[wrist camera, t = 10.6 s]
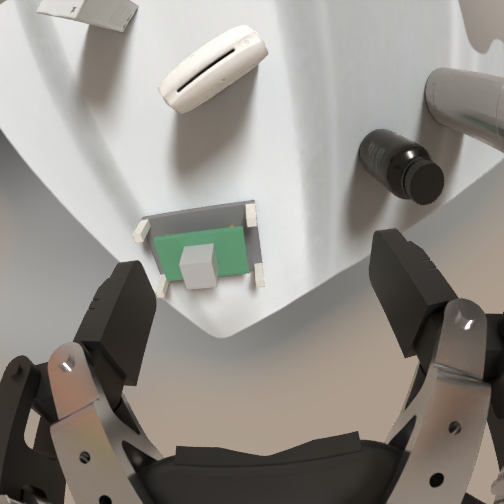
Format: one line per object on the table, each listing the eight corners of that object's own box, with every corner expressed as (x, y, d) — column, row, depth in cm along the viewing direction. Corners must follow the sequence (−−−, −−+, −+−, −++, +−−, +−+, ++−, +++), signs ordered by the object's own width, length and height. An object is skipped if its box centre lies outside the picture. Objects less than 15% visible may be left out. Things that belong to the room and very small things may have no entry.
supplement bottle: (406, 137, 33) (459, 166, 23) (391, 180, 37) (436, 220, 27) (366, 121, 32) (415, 144, 22) (351, 167, 36) (391, 206, 26)
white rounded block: (244, 35, 26) (246, 11, 15) (265, 61, 28) (280, 51, 17) (174, 85, 29) (141, 89, 18) (195, 110, 31) (173, 126, 21)
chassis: (254, 200, 38) (256, 217, 34) (262, 265, 44) (265, 286, 40) (142, 217, 38) (132, 235, 34) (164, 276, 45) (157, 297, 41)
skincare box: (140, 5, 22) (98, -20, 12) (123, 33, 24) (75, 20, 14) (103, -4, 20) (54, -23, 10) (88, 24, 22) (34, 14, 12)
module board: (242, 225, 37) (243, 247, 33) (248, 268, 41) (250, 292, 37) (154, 236, 37) (145, 258, 33) (168, 276, 41) (161, 300, 37)
